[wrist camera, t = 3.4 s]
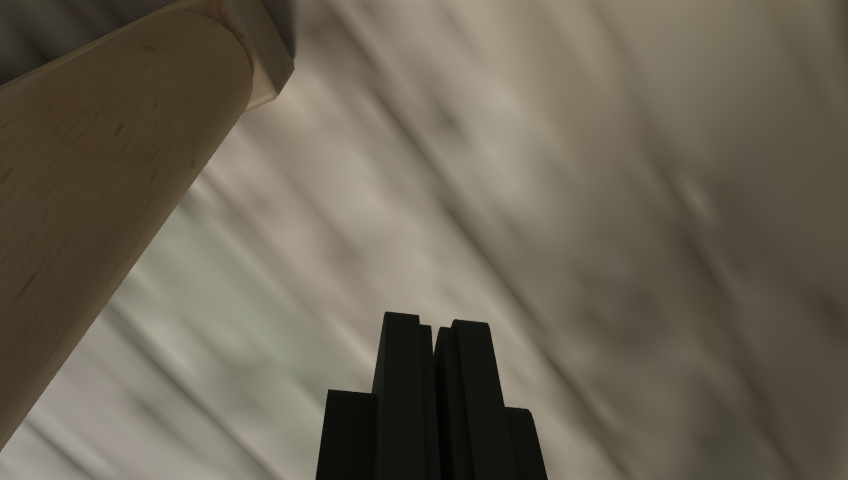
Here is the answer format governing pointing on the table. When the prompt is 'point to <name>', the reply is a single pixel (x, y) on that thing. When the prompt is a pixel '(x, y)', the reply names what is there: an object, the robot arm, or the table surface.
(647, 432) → the table surface
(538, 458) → the robot arm
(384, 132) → the table surface
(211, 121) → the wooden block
